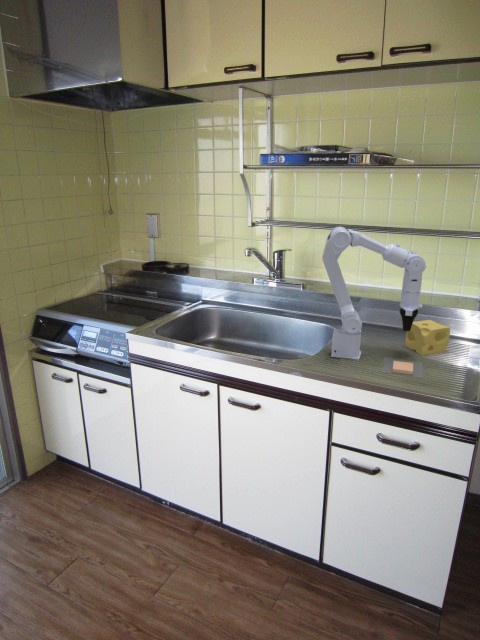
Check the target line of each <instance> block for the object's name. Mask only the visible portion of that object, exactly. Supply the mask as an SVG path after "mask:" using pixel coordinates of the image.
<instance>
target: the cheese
mask: <svg viewBox="0 0 480 640" xmlns="http://www.w3.org/2000/svg"><path fill="white" fill-rule="evenodd" d="M405 333H406V336H405V344H404V345H405V347H406V348H409V349H410V350H412V351H415V353H417V354H419V355H420V356H422V357H423V356H428V355H436V354H445V353H446V352H447V348H448V345H449V342H450V337H451V336H450V335H451V328H450V326H448V325H444V324H441V323H438V322H436V321H434V320H432V319H426V320H425V319H424V320H419V321H418V320H417V321H413V324H412V327H411V330H410V331H406V332H405Z"/></svg>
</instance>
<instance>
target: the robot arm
mask: <svg viewBox="0 0 480 640" xmlns="http://www.w3.org/2000/svg"><path fill="white" fill-rule="evenodd" d="M359 246H360V247H363V248H366V249H368V250H370V251H373V252H375V253H377V254H379V255H381V257H382V260H383V261H385V262H387V263H389V264H392V265H394V266H396V267H398V268H400V269H404V270H403V271H404V272H403V277H402V288H401V294H400V295H401V296H400V303H399V307H400V309H399V314H400V316H401V322H402V330H403V331H404V332H407V331H410V330H411V327H412V324H413V322H415V321H414V320H415V318H416V317H417V316H418V313H419V310H418V309H423V304H422V303H421V304H420V299H421V298H420V297H421V290H422V281H423V273H424V272H425V270H426V268H427V265H426V261H425V259H424V258H423V257H421V256H420V255H419V254H417V253H416V252H414V251H413V250H407V249H405V248H402V247H401V245H400V244H398V243H390V244H384V243H382V242H380V241H378V240H376V239H374V238H372V237H369V236H367V235H365V234H363V233H361V232H359V231H356V230H353V229H350V228H347V229H346V227H344V226H335V227H334V228H332V229H331V231H330V232H329V234H328V235H327V236H326V241H325V245H324V248H323V253H322V257H321V259H322V263H323V264H324V265H323V266H324V268H325V271H326V273H327V276H328V279H329V281H330V285H331V287H332V291H333V293H334V296H335V300H336V302H337V305H338V308H339V311H340V313H341V314H340V321H341V323H342V325H341V326H340V327H339V329H338V328H336V329H335V328H334V330H333V333H332V338H331V355H330V357H332V358H336V359H337V358H339V359H341V358H344V359H345V358H346V359H352V360H353V359H354V360H359V359H360V357H361V355H362V350H361V339H362V327H363V322H362V320H361V318H360V314H359V311H357V310H356V309H355V308H354V305H353V303H352V299H351V295H350V293H349V291H348V287H347V284H346V282H345V281H346V280H345V279H344V276H343V273H342V270H341V267H340V265H339V261H338V260H339V258H340V257H341V255H342V253H344V251H345V250H346V249H347V248H348V247H352V248H353V247H354V248H355V247H359Z"/></svg>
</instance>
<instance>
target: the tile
mask: <svg viewBox="0 0 480 640" xmlns="http://www.w3.org/2000/svg"><path fill="white" fill-rule="evenodd" d="M392 372H393V373H398V374H406V375H413V363H408V362H400V361H394V362H393V370H392Z"/></svg>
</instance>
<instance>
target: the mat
mask: <svg viewBox="0 0 480 640" xmlns="http://www.w3.org/2000/svg"><path fill="white" fill-rule="evenodd" d="M394 361H400V362H408V363H413V375H406V374H398V373H393V372H392V370H393V362H394ZM423 366H424V365H423V361H416V360H408V359H407V360H406V359H400V358H399V359H398V358H390V357H384V359H383V366H382V371H381V373H383V374H389V375H396V376H397V375H398V376H405V377H413V378H418V379H419V378H420V379H423V378H424V375H423V374H424V373H423V371H424V370H423V369H424V368H423Z"/></svg>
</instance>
